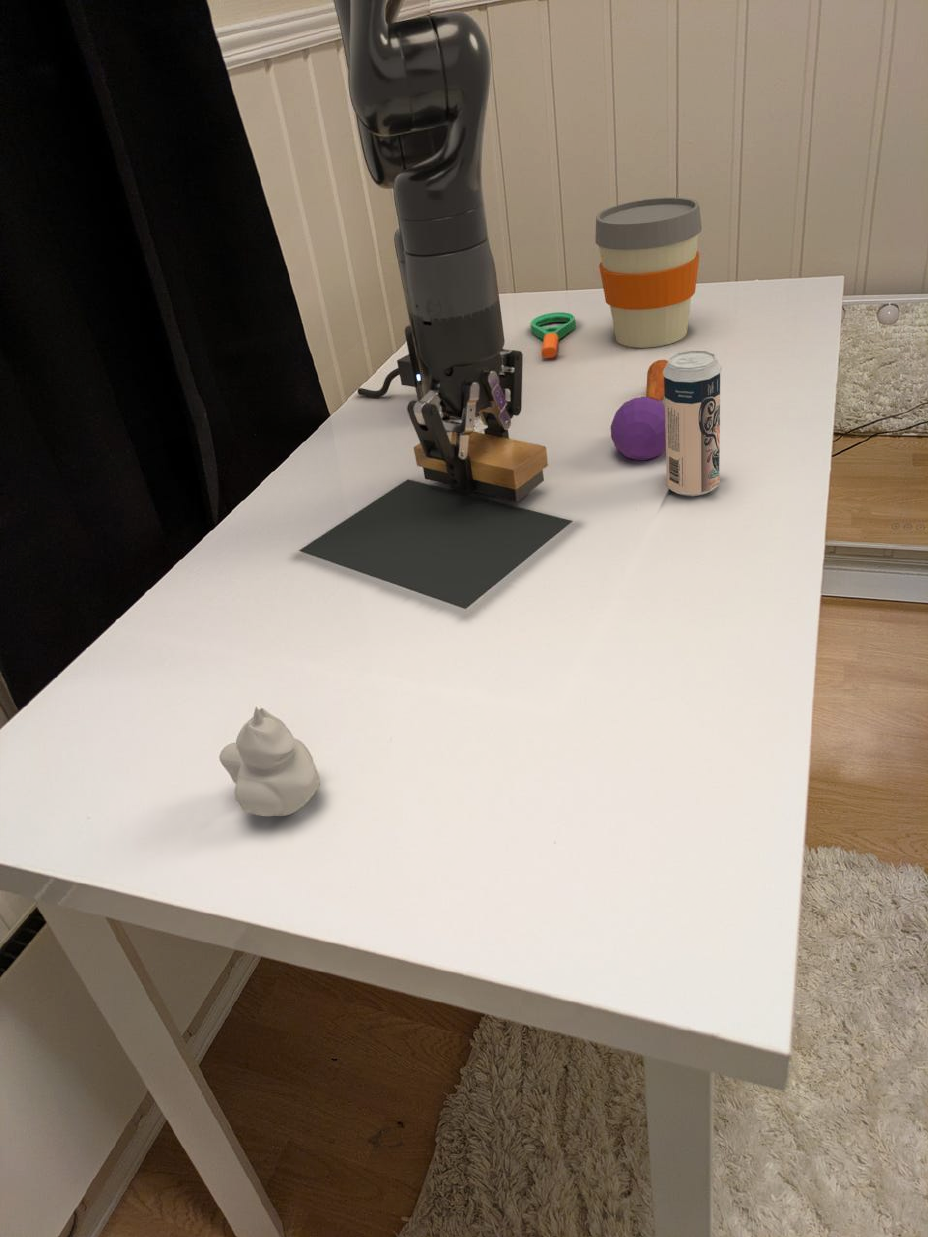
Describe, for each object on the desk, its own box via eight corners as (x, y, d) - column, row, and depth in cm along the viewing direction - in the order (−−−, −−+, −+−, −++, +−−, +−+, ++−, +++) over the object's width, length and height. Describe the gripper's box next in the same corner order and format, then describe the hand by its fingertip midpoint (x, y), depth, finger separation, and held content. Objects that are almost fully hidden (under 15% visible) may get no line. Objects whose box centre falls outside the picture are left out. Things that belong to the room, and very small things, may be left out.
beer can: (720, 498, 80) (722, 367, 73) (665, 500, 81) (661, 371, 75) (719, 473, 84) (720, 346, 77) (666, 475, 85) (663, 350, 78)
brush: (419, 479, 89) (413, 447, 87) (452, 457, 92) (446, 425, 89) (518, 504, 82) (513, 469, 80) (549, 480, 85) (546, 445, 83)
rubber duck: (300, 841, 55) (263, 744, 50) (213, 819, 57) (171, 725, 53) (344, 778, 59) (313, 683, 54) (260, 759, 61) (225, 667, 57)
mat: (300, 555, 83) (298, 550, 83) (408, 484, 92) (407, 478, 92) (466, 614, 72) (465, 608, 71) (573, 526, 80) (572, 520, 80)
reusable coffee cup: (680, 355, 109) (677, 223, 101) (585, 350, 116) (575, 225, 107) (716, 319, 117) (717, 194, 109) (625, 316, 124) (619, 198, 115)
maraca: (694, 351, 99) (676, 415, 83) (684, 404, 102) (664, 475, 86) (639, 343, 100) (611, 404, 84) (631, 396, 103) (602, 464, 87)
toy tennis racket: (533, 323, 127) (531, 311, 126) (576, 318, 126) (575, 306, 125) (525, 362, 115) (524, 349, 114) (573, 357, 114) (572, 344, 113)
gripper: (472, 269, 83) (496, 440, 93) (364, 324, 75) (403, 505, 85) (539, 274, 79) (557, 453, 88) (432, 333, 70) (465, 522, 80)
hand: (482, 477), depth 86 cm, fingers closed on brush, 5 cm apart
